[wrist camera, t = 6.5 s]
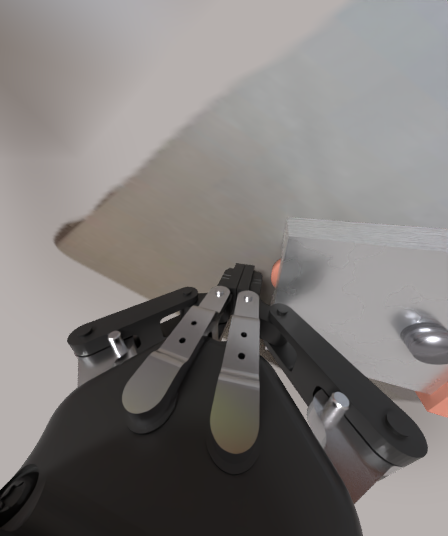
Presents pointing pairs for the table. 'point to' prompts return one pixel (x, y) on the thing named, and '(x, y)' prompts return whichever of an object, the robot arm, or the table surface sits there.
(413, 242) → the metal block with knob
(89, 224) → the table surface
